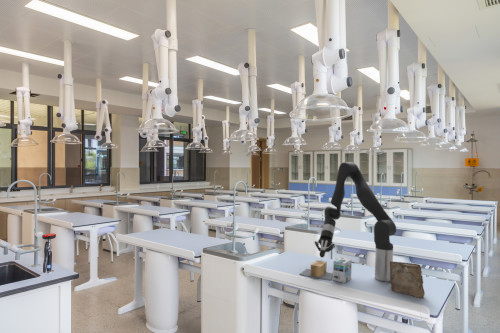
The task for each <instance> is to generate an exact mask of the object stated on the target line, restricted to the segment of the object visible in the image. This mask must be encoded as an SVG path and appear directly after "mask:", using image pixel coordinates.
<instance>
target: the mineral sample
mask: <svg viewBox="0 0 500 333" xmlns="http://www.w3.org/2000/svg"><path fill="white" fill-rule="evenodd" d="M389 262H390V274H391V276H390V281H389V282H390V289H391V291H393V292H396V293H399V294H404V295H409V296H412V297H415V298H416V299H417V298H418V299H422V298H424V297H425V294H426V293H425V289H424V279H423V275H422V272H423V271H422V267H421V266H422V265H421V264H418V263H412V262H411V263H409V262H401V261H393V262H392V261H389Z"/></svg>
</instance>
